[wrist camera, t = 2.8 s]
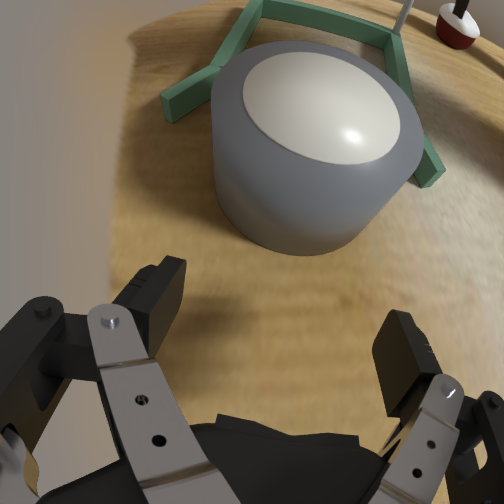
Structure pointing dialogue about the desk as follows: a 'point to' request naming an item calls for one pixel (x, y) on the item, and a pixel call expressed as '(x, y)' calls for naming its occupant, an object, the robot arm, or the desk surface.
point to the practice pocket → (285, 9)
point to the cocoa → (457, 25)
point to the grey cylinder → (308, 144)
